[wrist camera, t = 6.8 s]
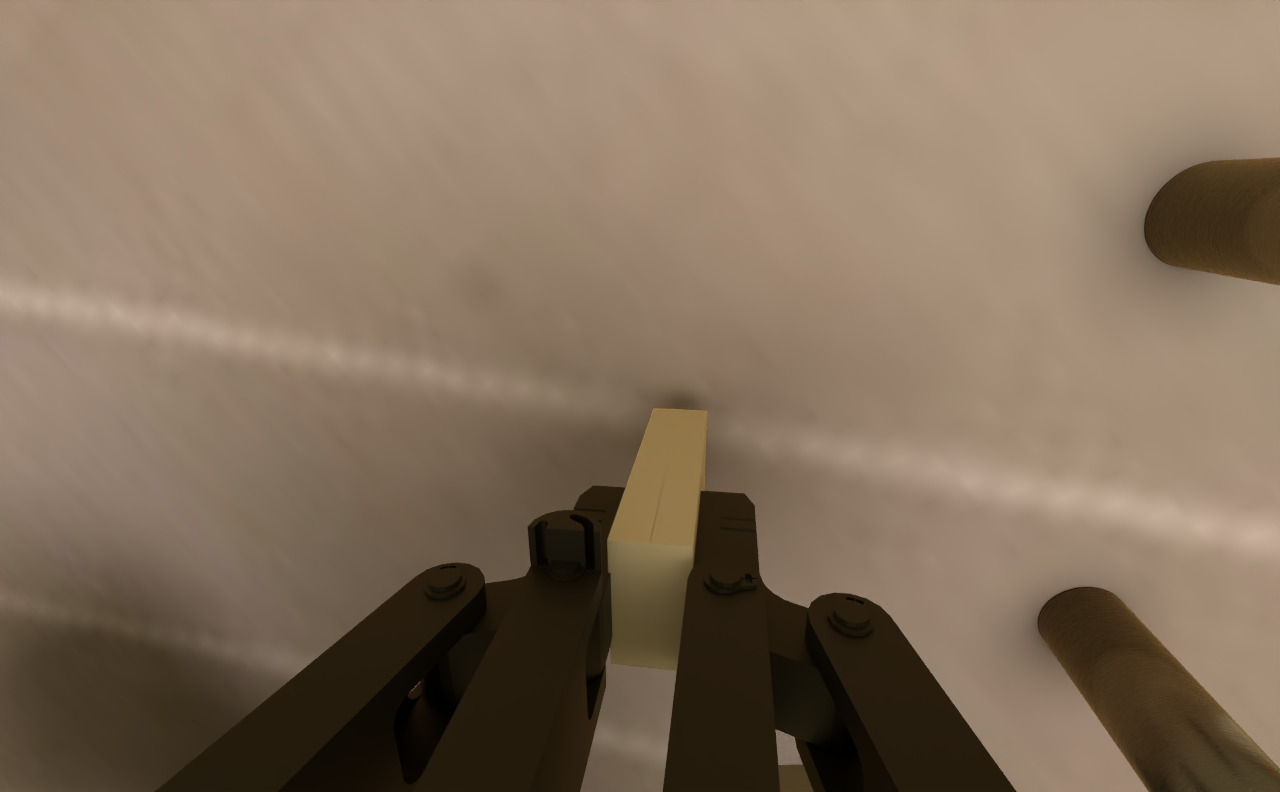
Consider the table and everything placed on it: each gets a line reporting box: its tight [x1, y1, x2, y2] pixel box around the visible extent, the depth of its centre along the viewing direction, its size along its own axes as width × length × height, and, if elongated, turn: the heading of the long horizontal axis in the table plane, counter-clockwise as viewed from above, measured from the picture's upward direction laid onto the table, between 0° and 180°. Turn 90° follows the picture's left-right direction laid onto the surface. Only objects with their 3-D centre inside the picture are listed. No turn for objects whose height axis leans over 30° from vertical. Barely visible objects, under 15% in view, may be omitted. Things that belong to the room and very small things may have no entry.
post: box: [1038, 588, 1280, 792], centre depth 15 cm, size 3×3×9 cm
